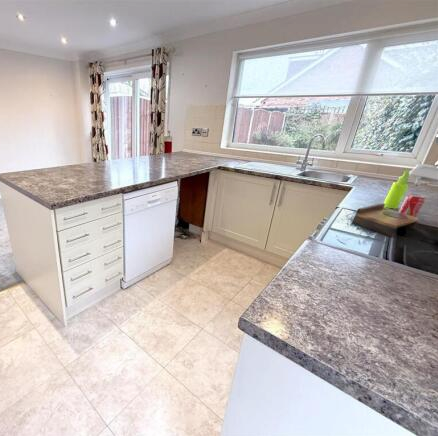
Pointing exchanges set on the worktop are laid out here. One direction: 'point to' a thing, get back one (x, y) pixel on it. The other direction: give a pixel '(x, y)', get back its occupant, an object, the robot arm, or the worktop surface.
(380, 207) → the shelf
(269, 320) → the worktop surface
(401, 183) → the soap dispenser
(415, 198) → the beverage can
